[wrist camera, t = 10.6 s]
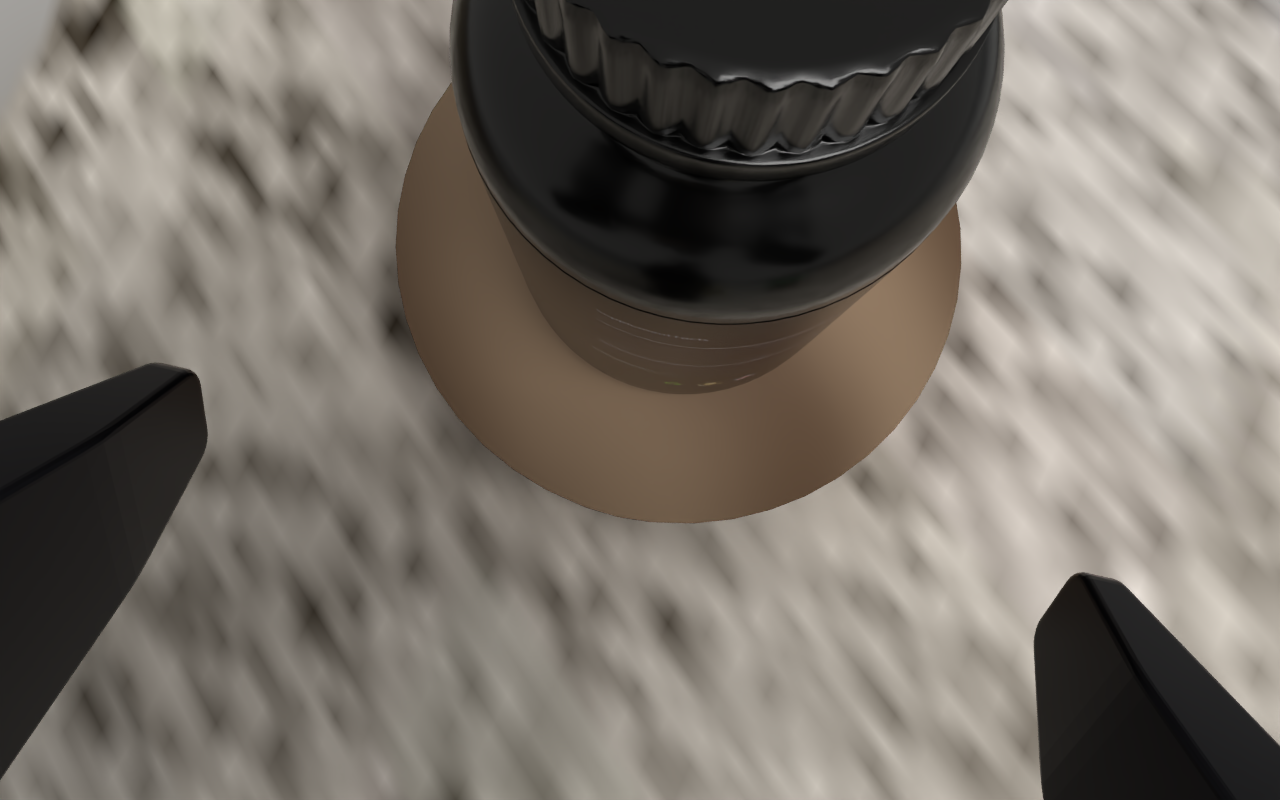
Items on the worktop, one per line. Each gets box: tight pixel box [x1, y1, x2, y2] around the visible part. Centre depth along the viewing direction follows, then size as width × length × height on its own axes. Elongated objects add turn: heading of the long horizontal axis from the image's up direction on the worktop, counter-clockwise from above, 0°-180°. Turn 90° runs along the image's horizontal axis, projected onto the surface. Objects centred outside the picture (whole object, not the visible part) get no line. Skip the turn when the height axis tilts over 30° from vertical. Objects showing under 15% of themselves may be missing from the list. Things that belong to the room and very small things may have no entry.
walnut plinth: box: [396, 83, 961, 523], centre depth 21 cm, size 12×12×4 cm
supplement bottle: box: [449, 0, 1008, 394], centre depth 13 cm, size 7×7×12 cm
